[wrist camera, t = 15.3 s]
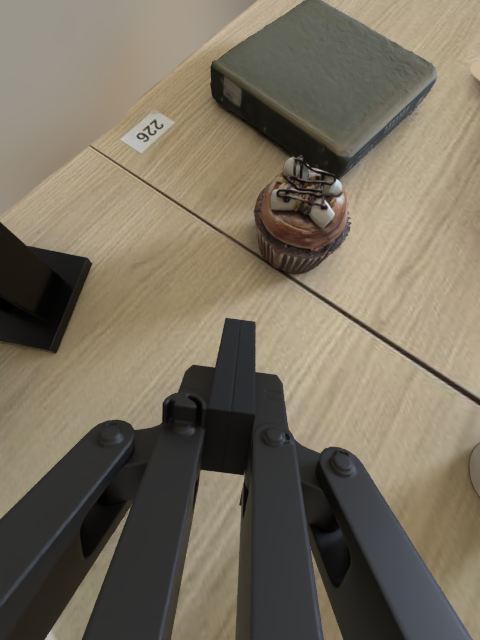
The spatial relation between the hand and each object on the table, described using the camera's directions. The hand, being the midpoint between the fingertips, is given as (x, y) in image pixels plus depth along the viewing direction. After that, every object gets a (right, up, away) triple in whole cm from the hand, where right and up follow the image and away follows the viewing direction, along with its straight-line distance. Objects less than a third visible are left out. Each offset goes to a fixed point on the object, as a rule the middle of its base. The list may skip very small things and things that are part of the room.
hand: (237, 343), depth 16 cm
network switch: (+11, +31, +27) cm, 42 cm away
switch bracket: (-20, +3, +15) cm, 26 cm away
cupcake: (+6, +10, +19) cm, 23 cm away
